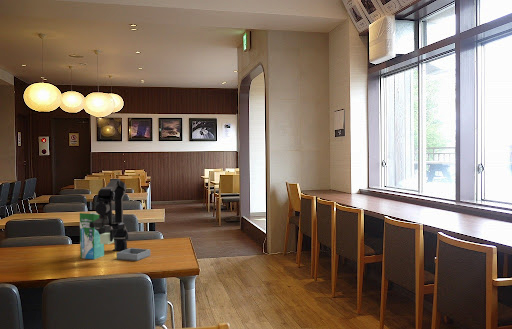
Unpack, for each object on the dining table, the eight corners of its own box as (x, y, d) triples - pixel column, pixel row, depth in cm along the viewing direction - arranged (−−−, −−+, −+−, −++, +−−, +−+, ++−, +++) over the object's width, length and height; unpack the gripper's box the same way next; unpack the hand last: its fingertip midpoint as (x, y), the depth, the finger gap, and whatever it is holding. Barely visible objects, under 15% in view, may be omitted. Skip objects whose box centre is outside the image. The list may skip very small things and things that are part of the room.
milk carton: (104, 255, 261) (103, 211, 260) (93, 259, 252) (93, 213, 251) (91, 254, 264) (90, 210, 263) (80, 258, 255) (79, 212, 254)
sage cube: (100, 243, 246) (100, 234, 246) (106, 241, 251) (106, 232, 251) (108, 244, 244) (107, 234, 244) (113, 242, 249) (113, 233, 249)
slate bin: (116, 259, 253) (116, 252, 253) (130, 253, 265) (130, 247, 265) (137, 261, 248) (137, 254, 248) (150, 255, 261) (150, 249, 260)
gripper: (81, 213, 243) (82, 242, 243) (111, 215, 236) (112, 245, 237) (96, 210, 253) (96, 238, 254) (124, 212, 247) (125, 241, 247)
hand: (107, 241), depth 248 cm, fingers closed on sage cube, 5 cm apart
